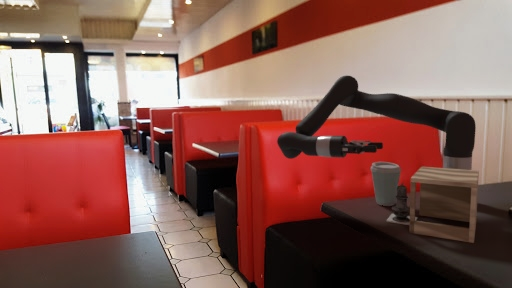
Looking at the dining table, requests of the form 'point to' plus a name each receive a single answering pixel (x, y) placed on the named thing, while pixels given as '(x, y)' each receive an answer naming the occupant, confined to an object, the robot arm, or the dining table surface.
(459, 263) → the dining table surface
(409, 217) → the mat
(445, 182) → the hutch
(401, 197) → the salt shaker
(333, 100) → the robot arm
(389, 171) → the disposable coffee cup
